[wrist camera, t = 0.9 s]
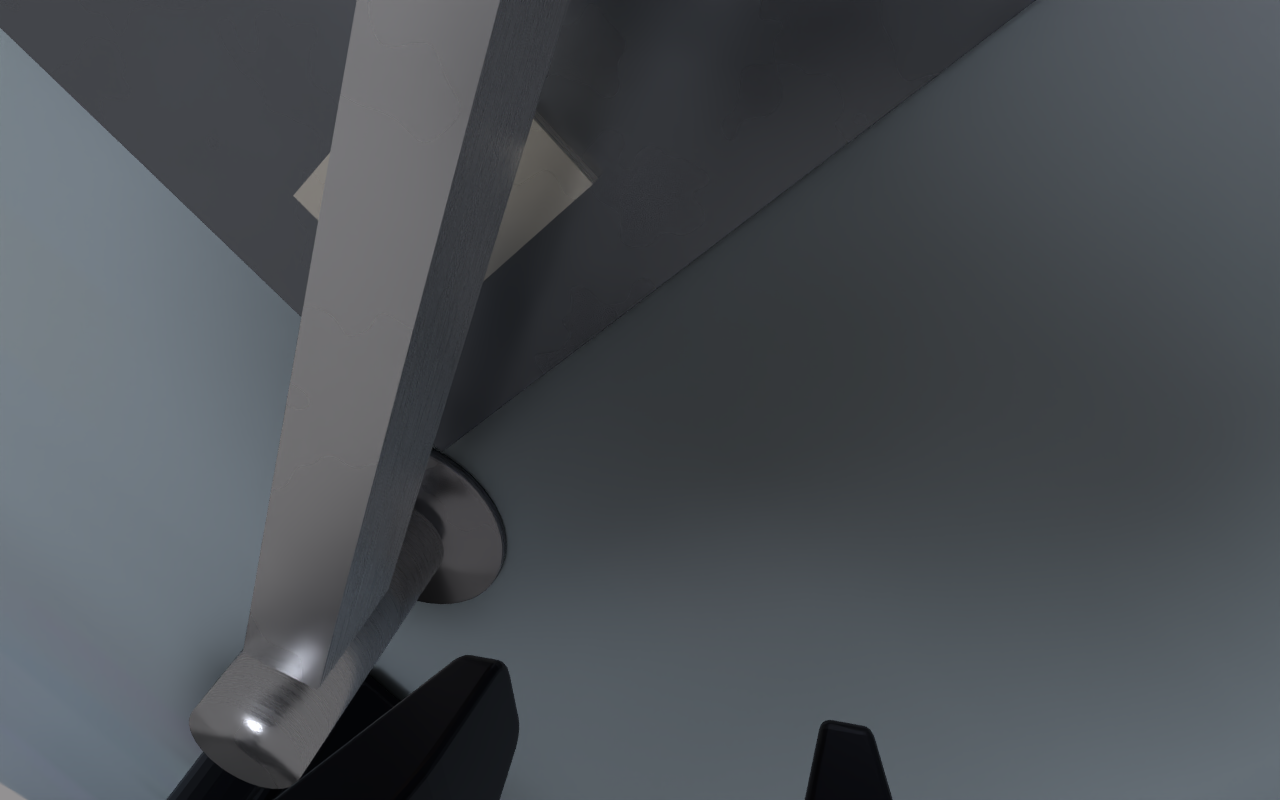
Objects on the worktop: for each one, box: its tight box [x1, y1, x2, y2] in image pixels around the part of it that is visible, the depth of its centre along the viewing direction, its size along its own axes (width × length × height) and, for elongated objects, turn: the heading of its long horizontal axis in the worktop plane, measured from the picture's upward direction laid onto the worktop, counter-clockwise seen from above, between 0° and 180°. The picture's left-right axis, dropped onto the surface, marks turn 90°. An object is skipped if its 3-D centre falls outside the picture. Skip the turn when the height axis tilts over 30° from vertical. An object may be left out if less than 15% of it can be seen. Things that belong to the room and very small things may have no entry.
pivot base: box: [414, 449, 506, 604], centre depth 25 cm, size 5×5×1 cm
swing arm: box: [189, 0, 570, 789], centre depth 17 cm, size 19×2×6 cm, turn 160°
